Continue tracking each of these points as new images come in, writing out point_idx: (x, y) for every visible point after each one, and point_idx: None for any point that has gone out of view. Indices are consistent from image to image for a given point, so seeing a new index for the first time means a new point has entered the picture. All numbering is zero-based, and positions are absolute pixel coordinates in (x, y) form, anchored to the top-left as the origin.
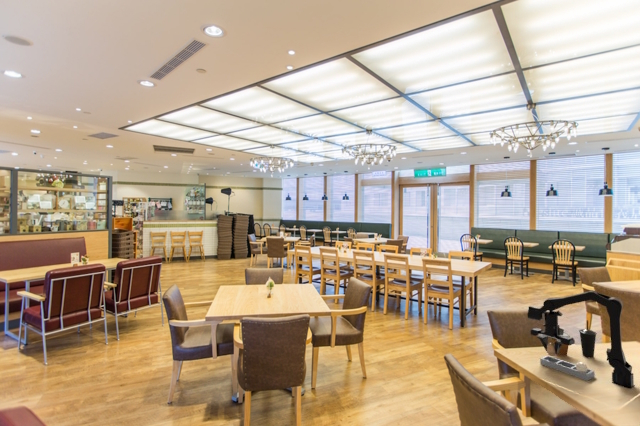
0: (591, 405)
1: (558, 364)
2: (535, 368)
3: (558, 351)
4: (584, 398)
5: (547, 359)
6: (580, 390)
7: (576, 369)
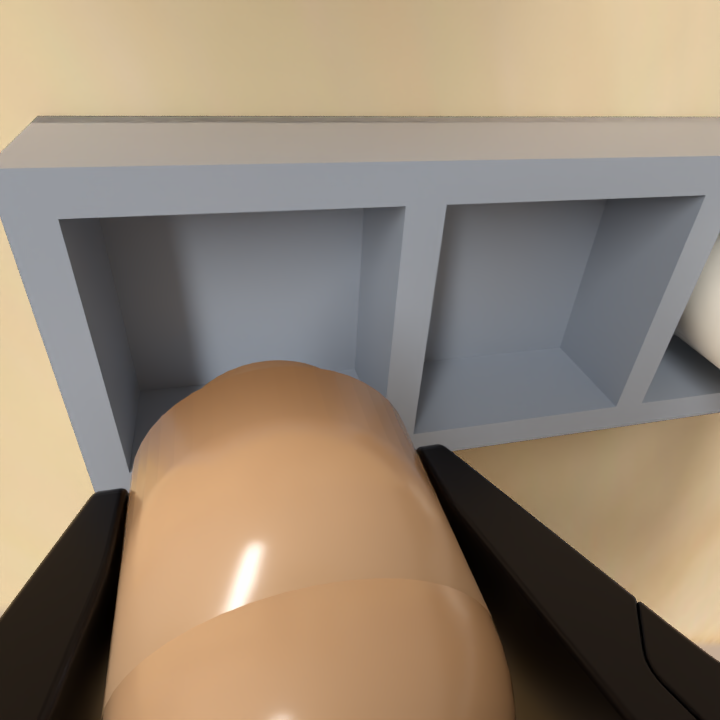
0: (699, 614)
1: (449, 448)
2: None
3: (509, 510)
4: (670, 592)
5: (88, 242)
6: (652, 535)
7: (694, 345)
